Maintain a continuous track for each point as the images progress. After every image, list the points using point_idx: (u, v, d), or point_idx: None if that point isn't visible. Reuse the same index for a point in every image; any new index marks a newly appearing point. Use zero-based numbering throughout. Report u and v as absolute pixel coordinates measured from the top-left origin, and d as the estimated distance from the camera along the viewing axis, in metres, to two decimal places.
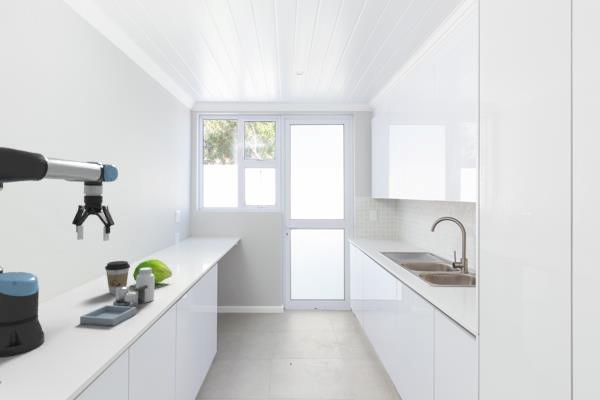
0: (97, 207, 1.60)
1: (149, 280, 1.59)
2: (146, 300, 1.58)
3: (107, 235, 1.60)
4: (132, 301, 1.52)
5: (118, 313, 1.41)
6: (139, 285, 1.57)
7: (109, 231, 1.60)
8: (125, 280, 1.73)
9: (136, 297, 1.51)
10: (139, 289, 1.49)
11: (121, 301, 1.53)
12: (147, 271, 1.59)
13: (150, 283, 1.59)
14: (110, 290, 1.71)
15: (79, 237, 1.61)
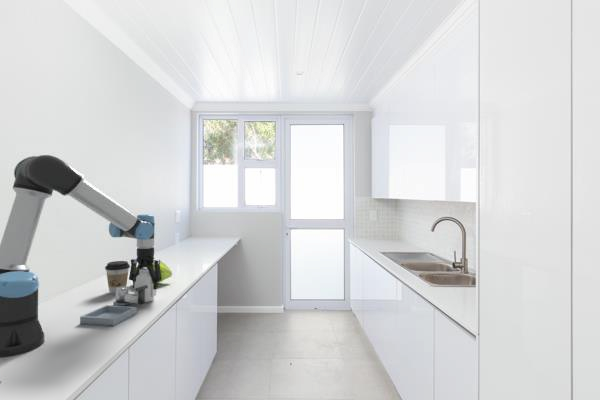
0: (150, 260, 1.59)
1: (149, 280, 1.59)
2: (146, 300, 1.58)
3: (154, 290, 1.61)
4: (132, 301, 1.52)
5: (118, 313, 1.41)
6: (139, 285, 1.57)
7: (157, 287, 1.60)
8: (125, 280, 1.73)
9: (136, 297, 1.51)
10: (139, 289, 1.49)
11: (121, 301, 1.53)
12: (147, 271, 1.59)
13: (150, 283, 1.59)
14: (110, 290, 1.71)
15: None
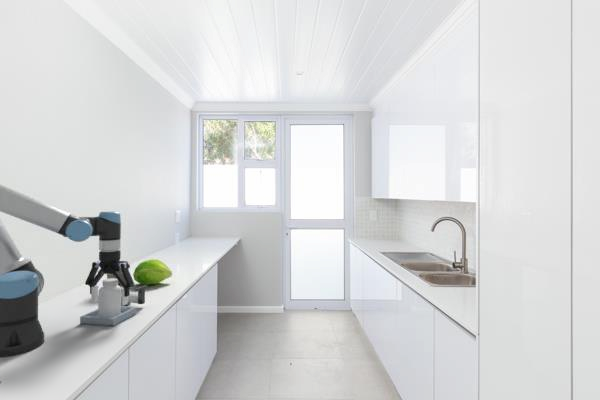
0: (114, 265, 1.35)
1: (114, 293, 1.34)
2: (110, 317, 1.34)
3: (126, 298, 1.36)
4: (132, 301, 1.52)
5: None
6: (102, 300, 1.33)
7: (128, 293, 1.36)
8: None
9: (136, 297, 1.51)
10: (139, 289, 1.49)
11: (121, 301, 1.53)
12: (112, 283, 1.35)
13: (115, 298, 1.35)
14: None
15: (93, 300, 1.37)
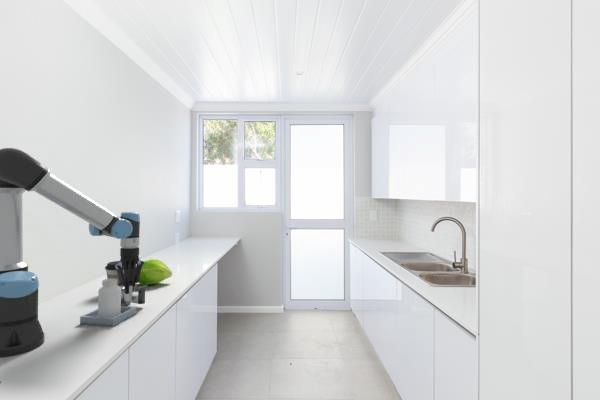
0: None
1: (114, 293, 1.34)
2: (110, 317, 1.34)
3: (128, 295, 1.50)
4: (132, 301, 1.52)
5: None
6: (101, 300, 1.33)
7: (125, 291, 1.49)
8: None
9: (136, 297, 1.51)
10: (139, 289, 1.49)
11: (121, 301, 1.53)
12: (111, 283, 1.35)
13: (115, 298, 1.35)
14: None
15: None
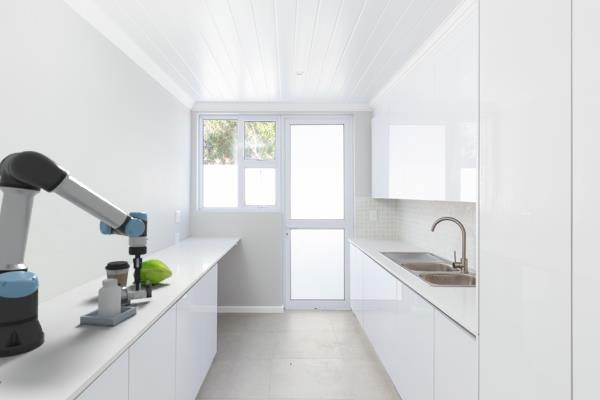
0: (134, 259, 1.53)
1: (114, 293, 1.34)
2: (110, 317, 1.34)
3: (137, 292, 1.56)
4: None
5: None
6: (101, 300, 1.33)
7: (137, 288, 1.55)
8: (125, 280, 1.73)
9: (144, 292, 1.58)
10: None
11: (126, 300, 1.54)
12: (111, 283, 1.35)
13: (115, 298, 1.35)
14: None
15: (134, 295, 1.56)
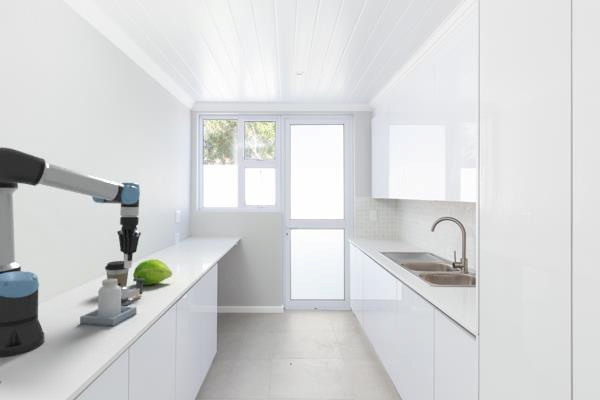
0: (131, 229, 1.55)
1: (114, 293, 1.34)
2: (110, 317, 1.34)
3: (129, 262, 1.57)
4: (134, 295, 1.61)
5: None
6: (101, 300, 1.33)
7: (131, 258, 1.56)
8: (125, 280, 1.73)
9: (138, 289, 1.63)
10: None
11: None
12: (111, 283, 1.35)
13: (115, 298, 1.35)
14: None
15: (125, 266, 1.56)
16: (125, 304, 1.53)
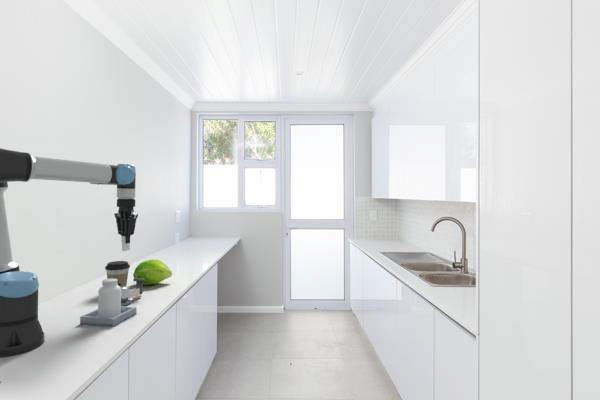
0: (128, 211, 1.53)
1: (114, 293, 1.34)
2: (110, 317, 1.34)
3: (127, 244, 1.55)
4: (134, 295, 1.61)
5: None
6: (101, 300, 1.33)
7: (129, 241, 1.55)
8: (125, 280, 1.73)
9: (138, 289, 1.63)
10: None
11: None
12: (111, 283, 1.35)
13: (115, 298, 1.35)
14: None
15: (123, 248, 1.54)
16: (125, 304, 1.53)
